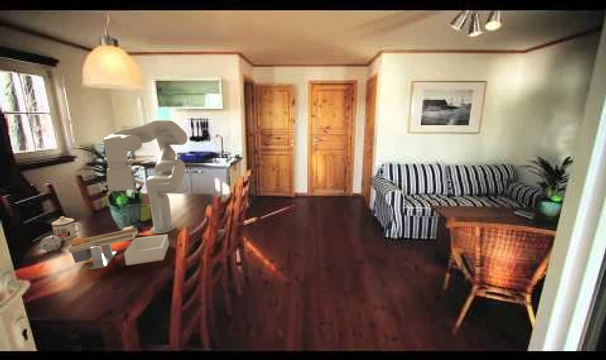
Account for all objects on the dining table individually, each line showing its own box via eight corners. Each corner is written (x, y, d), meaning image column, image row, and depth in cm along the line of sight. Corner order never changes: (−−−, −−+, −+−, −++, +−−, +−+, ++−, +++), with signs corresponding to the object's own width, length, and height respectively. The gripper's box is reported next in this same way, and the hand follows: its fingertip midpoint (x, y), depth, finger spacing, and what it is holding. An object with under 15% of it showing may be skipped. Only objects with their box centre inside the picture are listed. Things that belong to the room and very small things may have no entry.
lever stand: (101, 254, 123) (98, 236, 121) (116, 252, 125) (113, 234, 122) (89, 269, 111) (85, 249, 109) (106, 267, 113) (102, 247, 110)
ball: (77, 245, 115) (72, 237, 114) (87, 241, 116) (83, 233, 115) (73, 249, 111) (68, 241, 110) (83, 245, 112) (78, 237, 111)
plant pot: (130, 221, 163) (128, 207, 161) (145, 216, 171) (143, 203, 169) (139, 223, 159) (137, 210, 157) (154, 218, 167) (152, 205, 165)
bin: (135, 249, 128) (133, 238, 126) (168, 245, 132) (167, 234, 131) (126, 265, 114) (124, 252, 113) (163, 259, 118) (161, 247, 117)
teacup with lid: (51, 242, 135) (46, 221, 132) (60, 235, 144) (56, 215, 141) (79, 239, 139) (74, 218, 136) (86, 232, 147) (83, 212, 145)
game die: (49, 260, 125) (26, 249, 119) (57, 246, 132) (37, 235, 126) (64, 251, 125) (42, 239, 119) (72, 238, 132) (52, 226, 126)
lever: (90, 246, 126) (84, 232, 124) (145, 234, 132) (141, 221, 130) (73, 264, 111) (67, 248, 109) (136, 249, 117) (131, 234, 115)
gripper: (142, 162, 122) (148, 197, 126) (98, 164, 116) (105, 201, 121) (138, 165, 115) (144, 202, 120) (91, 168, 110) (99, 206, 114)
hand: (125, 201), depth 120 cm, fingers open, 9 cm apart
